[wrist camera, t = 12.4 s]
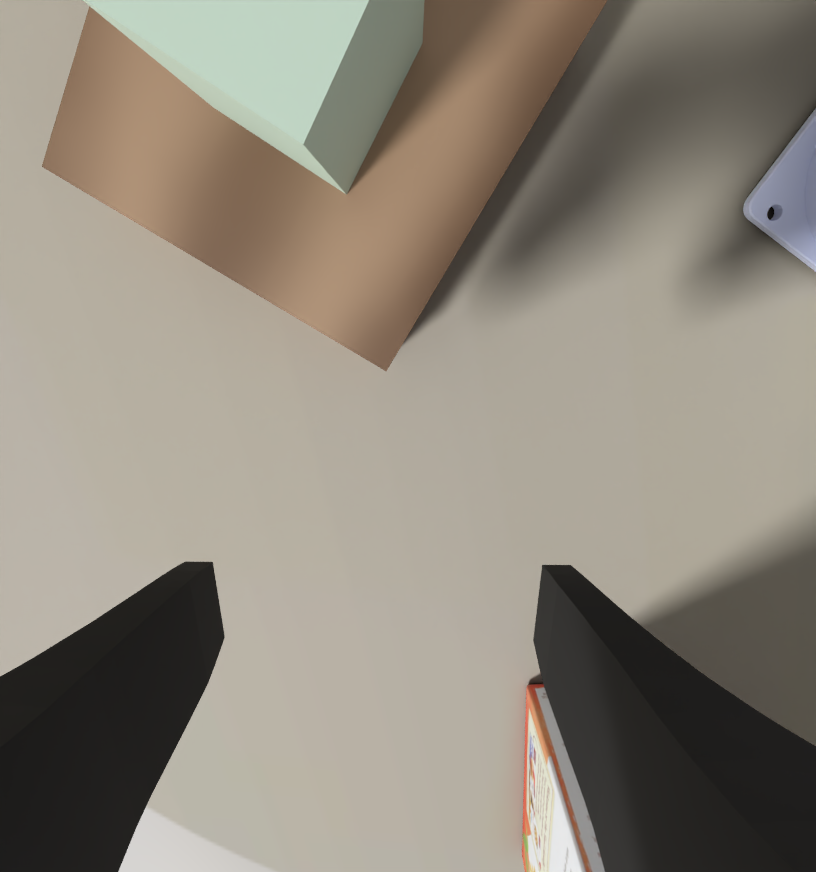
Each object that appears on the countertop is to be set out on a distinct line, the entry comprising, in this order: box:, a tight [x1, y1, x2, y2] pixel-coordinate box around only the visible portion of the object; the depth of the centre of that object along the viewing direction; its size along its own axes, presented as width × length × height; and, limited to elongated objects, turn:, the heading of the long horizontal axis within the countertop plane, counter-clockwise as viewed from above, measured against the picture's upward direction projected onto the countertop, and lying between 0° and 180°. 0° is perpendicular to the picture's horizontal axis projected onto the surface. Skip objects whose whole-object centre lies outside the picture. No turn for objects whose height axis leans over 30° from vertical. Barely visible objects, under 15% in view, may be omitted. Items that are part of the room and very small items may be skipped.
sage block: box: [83, 0, 424, 195], centre depth 10 cm, size 4×4×6 cm
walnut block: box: [42, 0, 607, 371], centre depth 15 cm, size 12×12×3 cm
